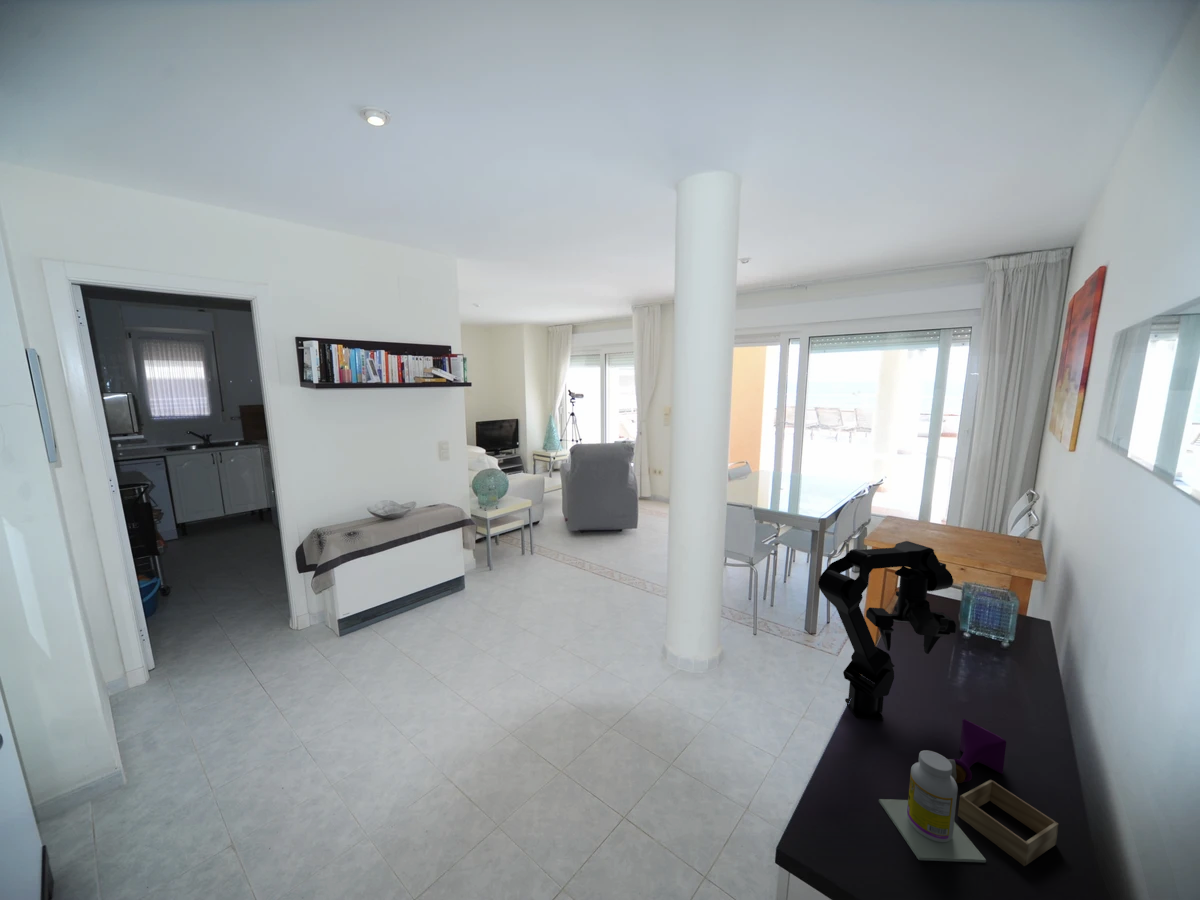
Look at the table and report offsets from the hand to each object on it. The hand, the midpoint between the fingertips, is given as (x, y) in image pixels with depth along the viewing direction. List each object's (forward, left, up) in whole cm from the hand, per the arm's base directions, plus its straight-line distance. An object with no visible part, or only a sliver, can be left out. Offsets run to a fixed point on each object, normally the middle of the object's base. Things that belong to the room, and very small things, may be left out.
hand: (907, 651), depth 114 cm
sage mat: (-15, -38, -13) cm, 43 cm away
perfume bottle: (+8, -18, -9) cm, 21 cm away
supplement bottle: (-15, -38, -13) cm, 43 cm away
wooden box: (-1, -36, -13) cm, 38 cm away
